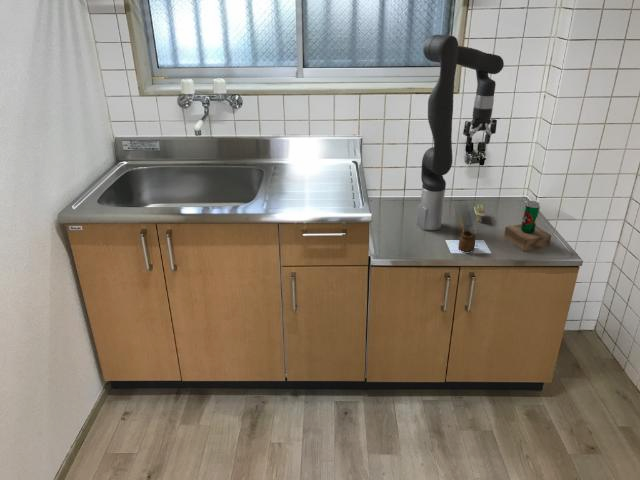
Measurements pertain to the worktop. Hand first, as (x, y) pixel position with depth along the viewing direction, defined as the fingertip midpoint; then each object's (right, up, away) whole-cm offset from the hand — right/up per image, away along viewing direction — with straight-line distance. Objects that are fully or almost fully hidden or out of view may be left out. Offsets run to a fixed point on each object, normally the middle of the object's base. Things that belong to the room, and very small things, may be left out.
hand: (477, 144), depth 214 cm
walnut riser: (+14, -42, -15) cm, 46 cm away
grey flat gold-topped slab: (+2, -32, +5) cm, 33 cm away
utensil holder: (-11, -45, -20) cm, 50 cm away
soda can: (+14, -37, -17) cm, 43 cm away
